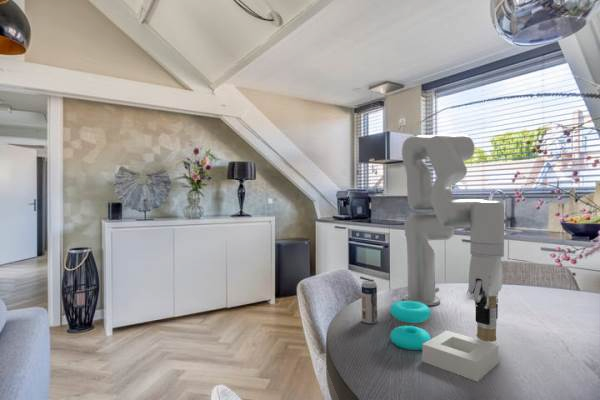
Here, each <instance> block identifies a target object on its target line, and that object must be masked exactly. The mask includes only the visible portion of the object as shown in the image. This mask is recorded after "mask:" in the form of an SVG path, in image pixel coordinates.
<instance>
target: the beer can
mask: <svg viewBox="0 0 600 400" xmlns="http://www.w3.org/2000/svg"><path fill="white" fill-rule="evenodd" d="M360 286H361V287H360V288H361V321H362V323H364V324H367V325H368V324H369V325H374V324H376V323H377V322H378V285H377V283H376V281H371V280H369V281H368V280H365V281H362V284H361V285H360Z"/></svg>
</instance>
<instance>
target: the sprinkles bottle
mask: <svg viewBox="0 0 600 400" xmlns="http://www.w3.org/2000/svg"><path fill="white" fill-rule="evenodd" d="M481 295H485V293H482V292H481ZM496 296H497V289H496V290H495V292H494V295H492V296H490V297H489V306H488V308H489V309H490V324H489V325H486V324H482V323H478V322H476V325H477V326H476V332H477V333H476V337H477V338H476V339H479V340H482V341H486V342H489V343H492V342H493V343H494V342H496V341H497V319H496V304H497V303H496ZM481 299H483V300H484V302H485V298H482V297H481Z"/></svg>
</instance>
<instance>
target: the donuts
mask: <svg viewBox="0 0 600 400" xmlns="http://www.w3.org/2000/svg"><path fill="white" fill-rule="evenodd" d="M389 311H390V314H391V315H392V316H393V318H395V319H397V320H398V321H401V322H405V323H423V322H425V321H427V320H428V319H429V318H430V316H431V314H432V312H431V309H430V307H429V306H427V305H425V304H423V303H420V302H415V301H404V300H398V301H395V302H393V303H392V304H391V305H390V307H389ZM430 339H432V338H431V336H430V334H429V332H427V331H426V330H425V329H423V328H421V327H417V326H414V325H399V326H397V327H395V328H394V329H392V330H391V332H390V340H391V342H392V343H393V344H394V345H395V346H397V347H399V348H402V349H405V350H410V351H419V350H421V351H422V344H423V343H425V342H427V341H429V340H430Z"/></svg>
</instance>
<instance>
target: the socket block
mask: <svg viewBox="0 0 600 400" xmlns="http://www.w3.org/2000/svg"><path fill="white" fill-rule="evenodd" d="M421 351H422V355H421V358H422V362H423V363H425V364H428V365H430V366H434V367H436V368H439V369H442V370H444V371H447V372H450V373H452V374H456V375H457V376H460V375H461V376H460V377H463V376H464V378H466V379H469V380H472V381H474V382H479V381H480V380H482V378H484V377H485V376H487V374H488V373H490V371H492V369H493V368H495V367H496V366H497V365H498V364H500V358H499V357H500V356H499V352H500V351H499V344H496V343H494V342H493V343H492V342H487V341H483V340H480V339H479V338H475V337H471V336H467V335H465V334H464V335H463V334H460V333H457V332H453V331H450V330H445V331H443V332H441V333H440V334H438V335H436V336H434V337H432V338H431V339H430V340H429V341H427V342H425V343H423V344H422V349H421ZM495 365H496V366H495ZM484 375H485V376H484Z"/></svg>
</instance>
